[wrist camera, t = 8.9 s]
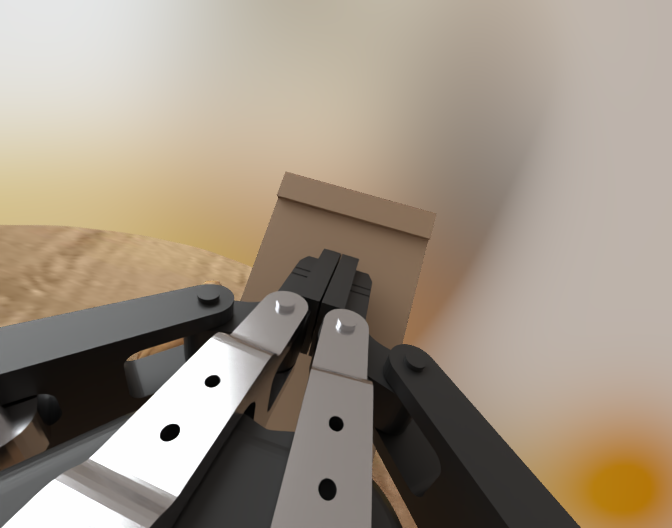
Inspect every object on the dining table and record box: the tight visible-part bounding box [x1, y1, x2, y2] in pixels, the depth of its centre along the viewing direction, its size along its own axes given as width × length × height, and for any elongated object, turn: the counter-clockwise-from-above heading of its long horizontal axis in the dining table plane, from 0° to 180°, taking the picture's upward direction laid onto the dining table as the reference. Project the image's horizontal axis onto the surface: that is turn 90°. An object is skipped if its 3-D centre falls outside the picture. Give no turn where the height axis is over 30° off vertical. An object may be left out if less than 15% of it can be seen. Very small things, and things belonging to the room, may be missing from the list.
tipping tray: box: [241, 172, 436, 462], centre depth 18 cm, size 13×8×16 cm
